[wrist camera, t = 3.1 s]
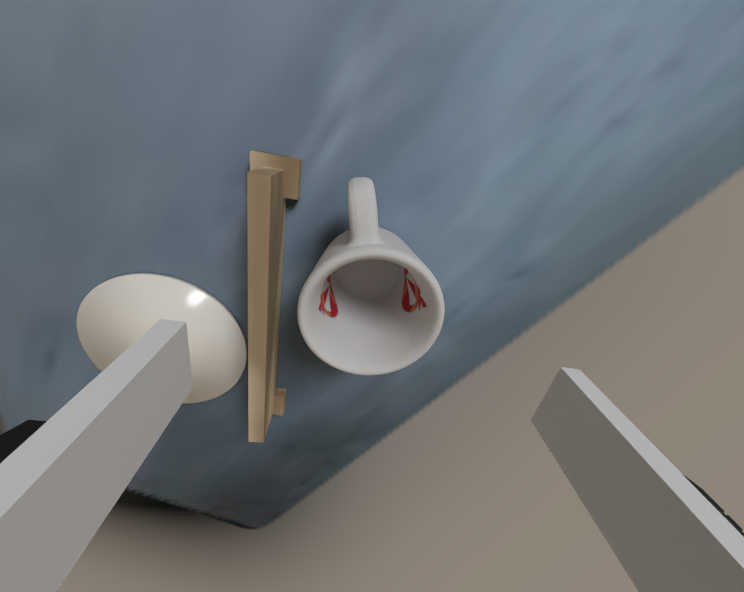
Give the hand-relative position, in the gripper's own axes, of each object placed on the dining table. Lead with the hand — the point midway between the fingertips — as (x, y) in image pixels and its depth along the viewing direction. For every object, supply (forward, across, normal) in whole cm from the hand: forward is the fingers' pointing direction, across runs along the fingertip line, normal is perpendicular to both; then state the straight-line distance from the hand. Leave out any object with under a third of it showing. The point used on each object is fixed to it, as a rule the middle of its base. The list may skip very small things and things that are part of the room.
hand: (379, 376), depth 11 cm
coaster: (+14, -15, -10) cm, 23 cm away
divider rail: (+14, -7, -6) cm, 16 cm away
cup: (+14, 0, 0) cm, 14 cm away
